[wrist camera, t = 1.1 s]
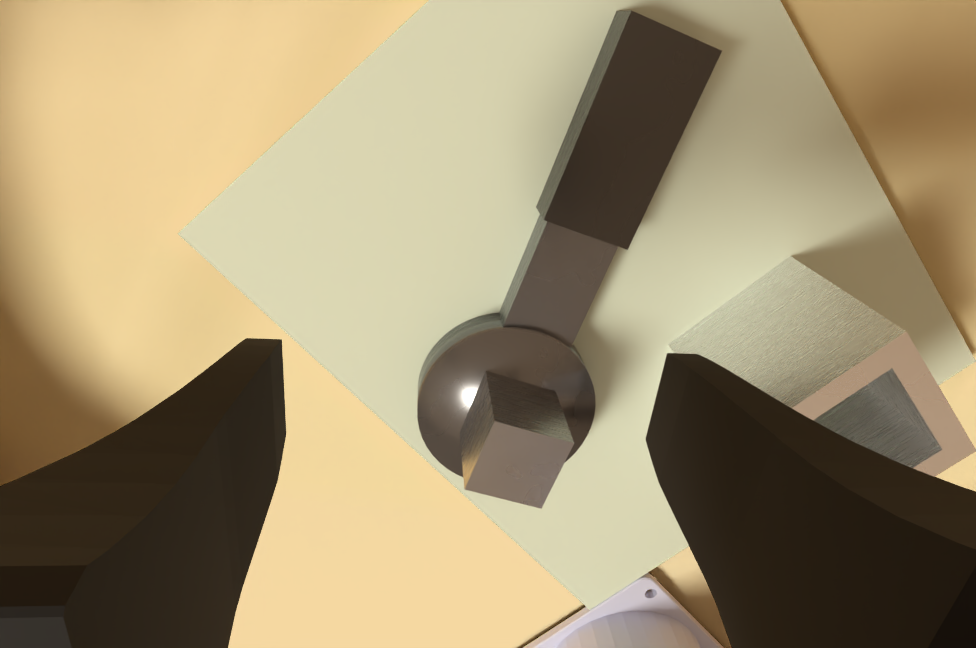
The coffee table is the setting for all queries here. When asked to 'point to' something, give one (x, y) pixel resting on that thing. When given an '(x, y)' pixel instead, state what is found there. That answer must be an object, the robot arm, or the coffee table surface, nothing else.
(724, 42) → the mat
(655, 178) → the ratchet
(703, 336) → the socket
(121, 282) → the coffee table surface
